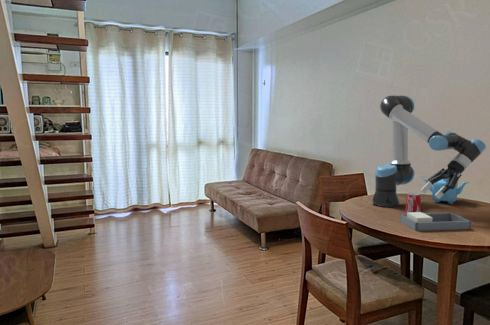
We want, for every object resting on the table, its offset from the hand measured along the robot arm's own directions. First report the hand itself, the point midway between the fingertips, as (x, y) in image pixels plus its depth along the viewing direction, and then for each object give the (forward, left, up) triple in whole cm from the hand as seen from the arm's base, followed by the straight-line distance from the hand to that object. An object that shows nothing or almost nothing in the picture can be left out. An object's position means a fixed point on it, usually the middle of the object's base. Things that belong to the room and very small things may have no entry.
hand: (429, 194), depth 183 cm
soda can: (-6, -5, -12) cm, 14 cm away
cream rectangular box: (+5, -22, -11) cm, 25 cm away
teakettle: (-7, +40, -12) cm, 42 cm away
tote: (+9, -17, -12) cm, 23 cm away
